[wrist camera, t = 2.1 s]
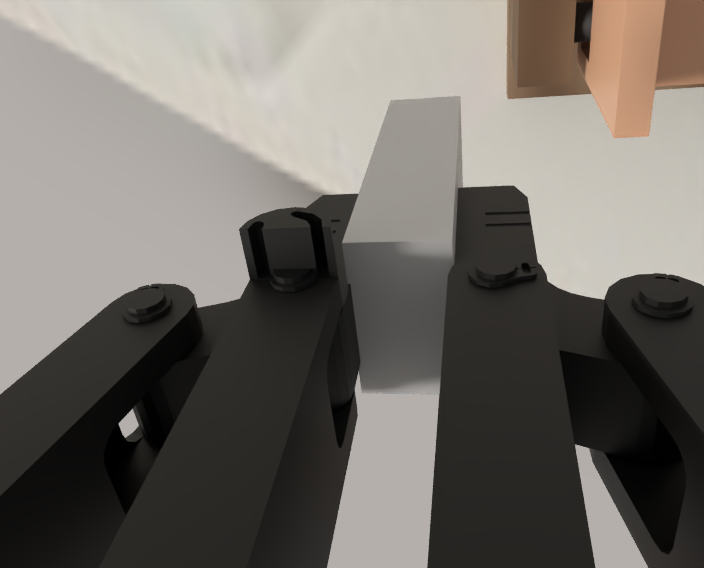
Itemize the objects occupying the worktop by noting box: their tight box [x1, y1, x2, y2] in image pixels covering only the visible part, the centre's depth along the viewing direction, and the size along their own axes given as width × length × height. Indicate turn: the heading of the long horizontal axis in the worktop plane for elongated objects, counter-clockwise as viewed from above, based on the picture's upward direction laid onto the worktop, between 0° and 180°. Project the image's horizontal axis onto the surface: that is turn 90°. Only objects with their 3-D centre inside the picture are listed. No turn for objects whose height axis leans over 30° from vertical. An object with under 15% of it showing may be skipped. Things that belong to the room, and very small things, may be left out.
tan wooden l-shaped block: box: [577, 0, 704, 138], centre depth 23 cm, size 4×4×9 cm
